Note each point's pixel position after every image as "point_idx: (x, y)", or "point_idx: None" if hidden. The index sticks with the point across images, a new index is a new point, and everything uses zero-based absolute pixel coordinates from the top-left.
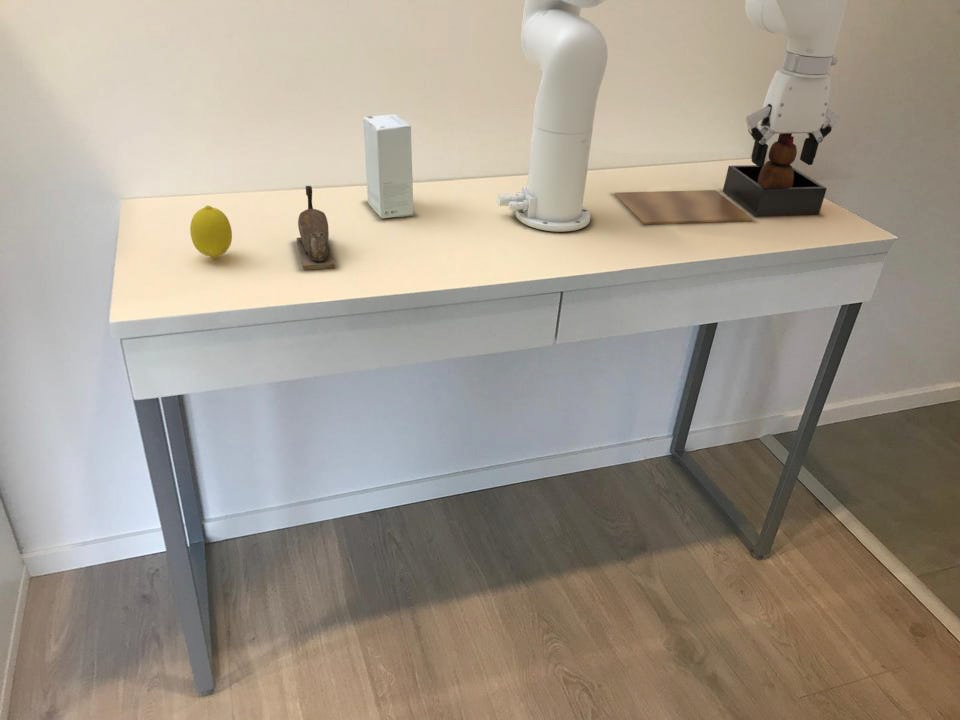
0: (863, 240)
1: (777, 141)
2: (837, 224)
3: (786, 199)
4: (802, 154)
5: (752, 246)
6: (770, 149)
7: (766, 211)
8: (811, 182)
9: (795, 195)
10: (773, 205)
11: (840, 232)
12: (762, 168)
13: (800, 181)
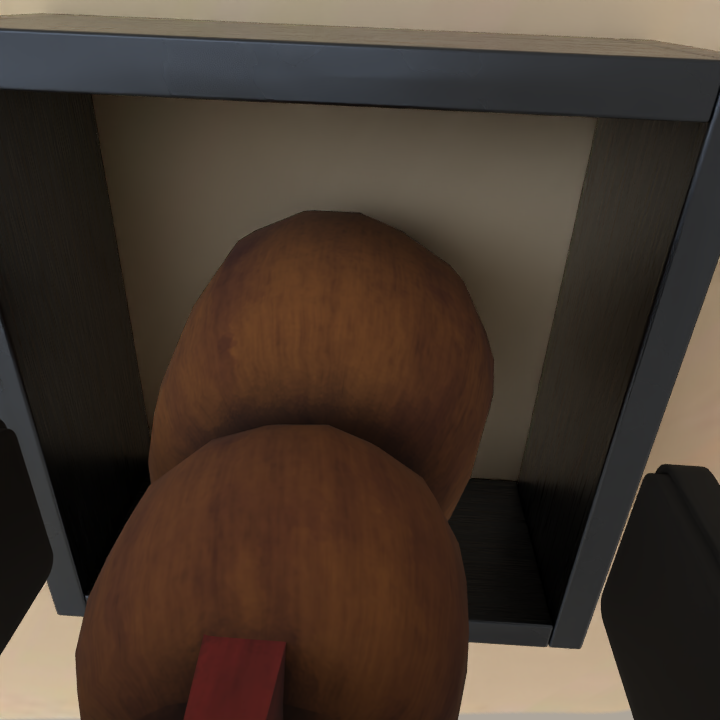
0: (521, 711)
1: (145, 714)
2: None
3: None
4: (665, 550)
5: (8, 684)
6: (86, 607)
7: None
8: (579, 532)
9: None
10: None
11: (482, 653)
12: (165, 383)
13: (601, 381)
